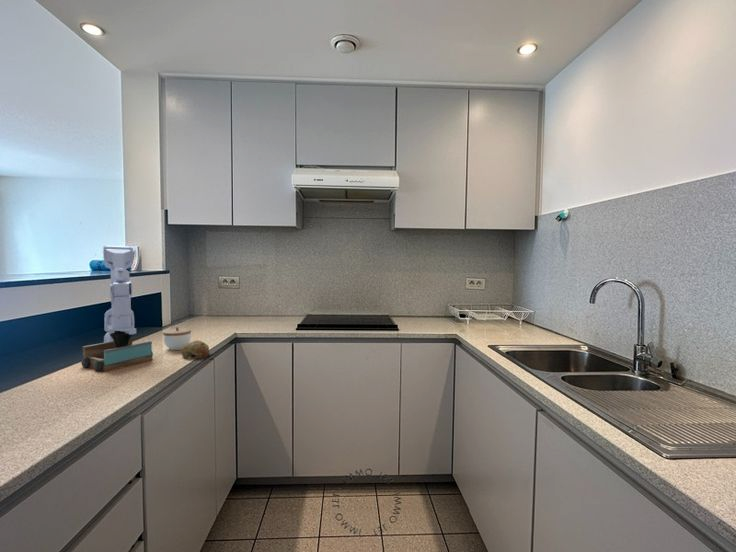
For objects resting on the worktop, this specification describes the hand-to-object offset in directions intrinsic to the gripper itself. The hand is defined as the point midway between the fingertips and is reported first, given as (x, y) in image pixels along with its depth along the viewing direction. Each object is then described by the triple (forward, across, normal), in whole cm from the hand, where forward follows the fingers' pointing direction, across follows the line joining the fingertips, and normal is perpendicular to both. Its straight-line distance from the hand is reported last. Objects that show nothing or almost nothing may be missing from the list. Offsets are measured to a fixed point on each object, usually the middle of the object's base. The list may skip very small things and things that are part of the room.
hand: (121, 351), depth 125 cm
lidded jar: (+5, -3, +24) cm, 25 cm away
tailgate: (+2, +5, 0) cm, 6 cm away
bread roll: (+5, +14, +20) cm, 25 cm away
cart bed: (+4, -2, 0) cm, 5 cm away
